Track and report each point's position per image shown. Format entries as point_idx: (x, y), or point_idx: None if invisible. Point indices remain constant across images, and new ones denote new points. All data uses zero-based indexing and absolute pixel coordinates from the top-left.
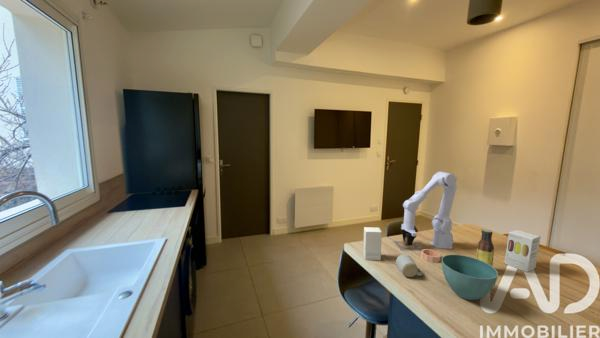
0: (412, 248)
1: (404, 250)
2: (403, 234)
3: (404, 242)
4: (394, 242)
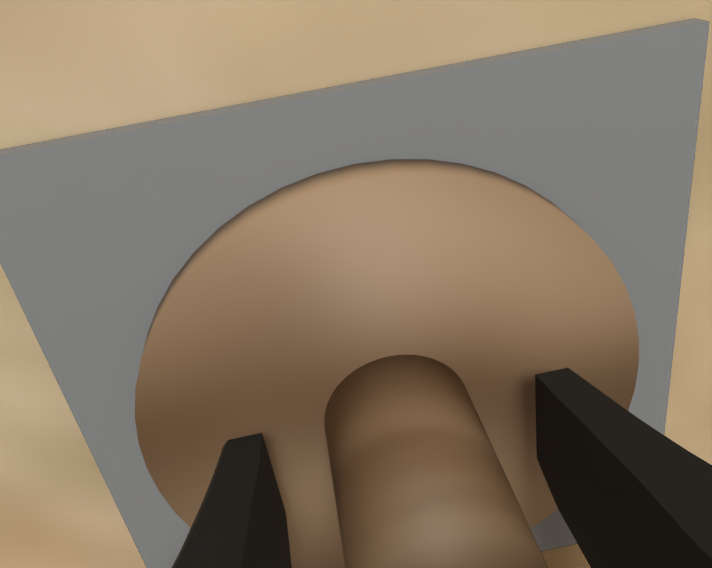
0: (166, 494)
1: (7, 269)
2: (684, 555)
3: (536, 365)
4: (595, 52)
